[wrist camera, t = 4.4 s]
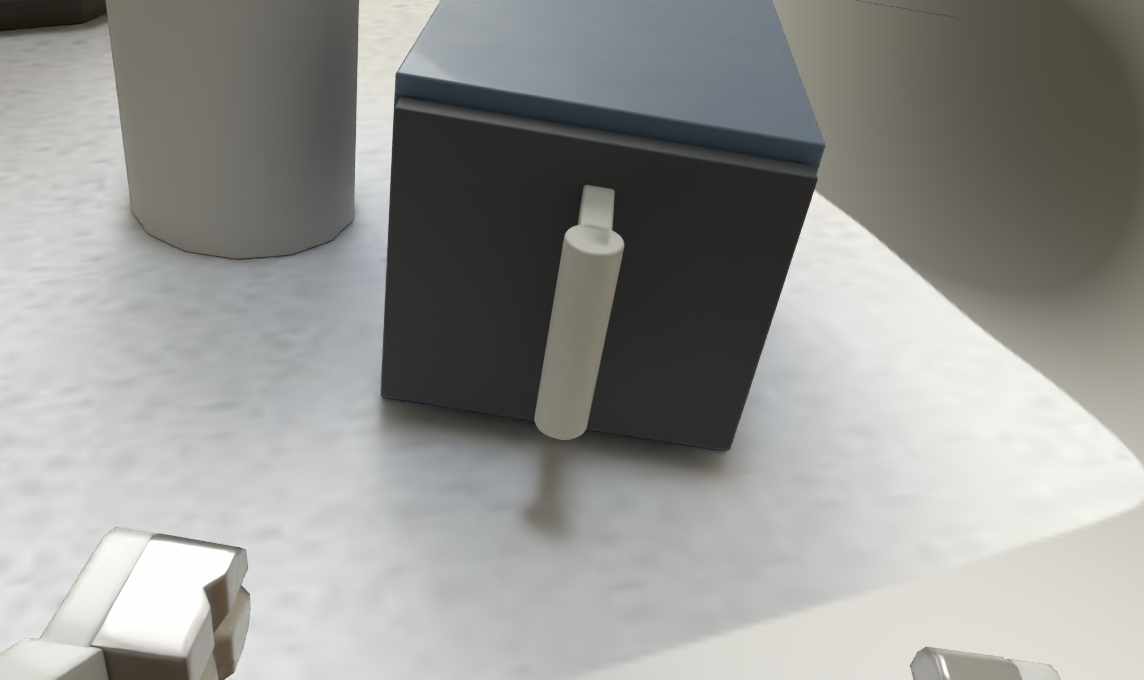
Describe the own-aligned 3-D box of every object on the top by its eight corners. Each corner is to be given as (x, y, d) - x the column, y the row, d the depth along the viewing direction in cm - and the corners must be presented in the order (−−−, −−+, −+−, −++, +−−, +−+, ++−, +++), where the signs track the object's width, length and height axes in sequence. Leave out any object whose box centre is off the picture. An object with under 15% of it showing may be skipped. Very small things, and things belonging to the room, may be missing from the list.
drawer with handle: (738, 534, 27) (841, 245, 21) (351, 473, 26) (359, 166, 21) (707, 234, 40) (765, 16, 35) (454, 192, 40) (475, -35, 35)
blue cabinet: (727, 452, 31) (826, 145, 25) (380, 397, 30) (395, 72, 24) (705, 237, 42) (769, -8, 36) (454, 196, 42) (476, -59, 36)
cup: (354, 262, 36) (360, -9, 31) (115, 255, 34) (74, -36, 29) (353, 161, 43) (358, -77, 37) (152, 150, 41) (126, -103, 35)
